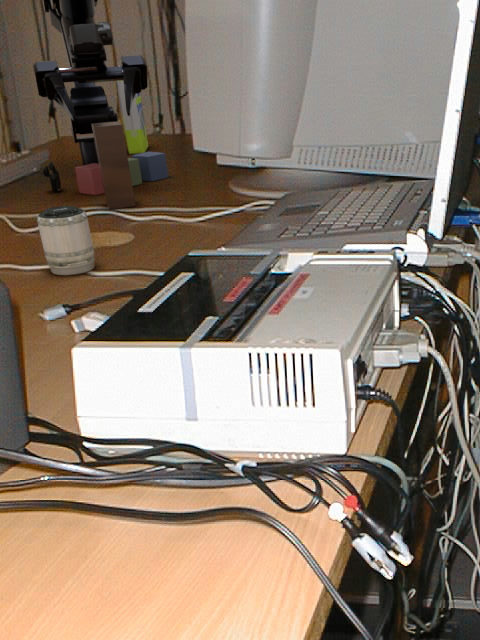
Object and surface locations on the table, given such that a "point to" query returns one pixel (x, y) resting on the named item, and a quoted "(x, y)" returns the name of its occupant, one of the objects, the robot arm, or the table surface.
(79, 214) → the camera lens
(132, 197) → the tall block
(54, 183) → the wireless earbuds
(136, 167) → the cube
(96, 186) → the cube
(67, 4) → the robot arm
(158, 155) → the cube
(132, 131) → the box
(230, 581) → the table surface
